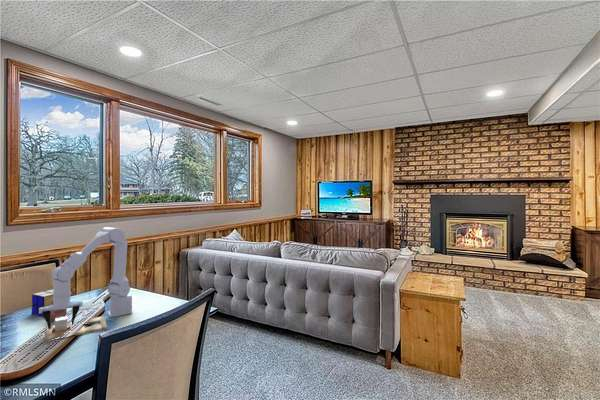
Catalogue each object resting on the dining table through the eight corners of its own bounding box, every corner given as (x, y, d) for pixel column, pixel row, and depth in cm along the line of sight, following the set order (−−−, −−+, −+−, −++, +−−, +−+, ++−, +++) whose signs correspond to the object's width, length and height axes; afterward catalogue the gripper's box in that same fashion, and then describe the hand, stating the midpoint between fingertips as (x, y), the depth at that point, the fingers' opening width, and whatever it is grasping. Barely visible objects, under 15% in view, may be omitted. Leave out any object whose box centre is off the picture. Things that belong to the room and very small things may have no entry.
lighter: (52, 322, 135) (52, 301, 135) (46, 321, 136) (46, 300, 136) (68, 315, 143) (69, 295, 143) (63, 315, 144) (63, 295, 144)
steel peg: (67, 329, 128) (67, 316, 128) (66, 332, 125) (67, 319, 125) (55, 332, 126) (55, 318, 126) (54, 335, 122) (55, 321, 122)
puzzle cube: (31, 314, 144) (31, 294, 145) (54, 307, 154) (55, 288, 154) (43, 317, 141) (43, 296, 141) (66, 310, 150) (66, 291, 150)
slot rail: (104, 317, 141) (104, 315, 141) (106, 328, 129) (106, 326, 129) (47, 328, 128) (47, 326, 128) (44, 342, 116) (44, 339, 116)
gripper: (38, 300, 118) (37, 333, 118) (82, 294, 127) (82, 325, 127) (40, 295, 124) (39, 327, 123) (82, 289, 132) (82, 319, 132)
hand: (61, 326), depth 125 cm, fingers open, 7 cm apart
